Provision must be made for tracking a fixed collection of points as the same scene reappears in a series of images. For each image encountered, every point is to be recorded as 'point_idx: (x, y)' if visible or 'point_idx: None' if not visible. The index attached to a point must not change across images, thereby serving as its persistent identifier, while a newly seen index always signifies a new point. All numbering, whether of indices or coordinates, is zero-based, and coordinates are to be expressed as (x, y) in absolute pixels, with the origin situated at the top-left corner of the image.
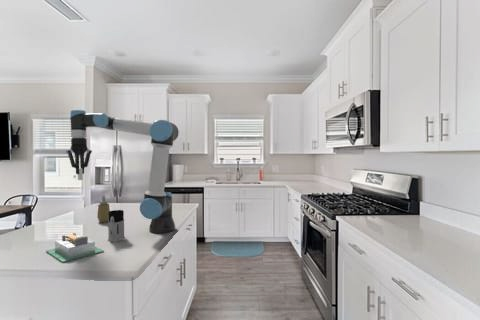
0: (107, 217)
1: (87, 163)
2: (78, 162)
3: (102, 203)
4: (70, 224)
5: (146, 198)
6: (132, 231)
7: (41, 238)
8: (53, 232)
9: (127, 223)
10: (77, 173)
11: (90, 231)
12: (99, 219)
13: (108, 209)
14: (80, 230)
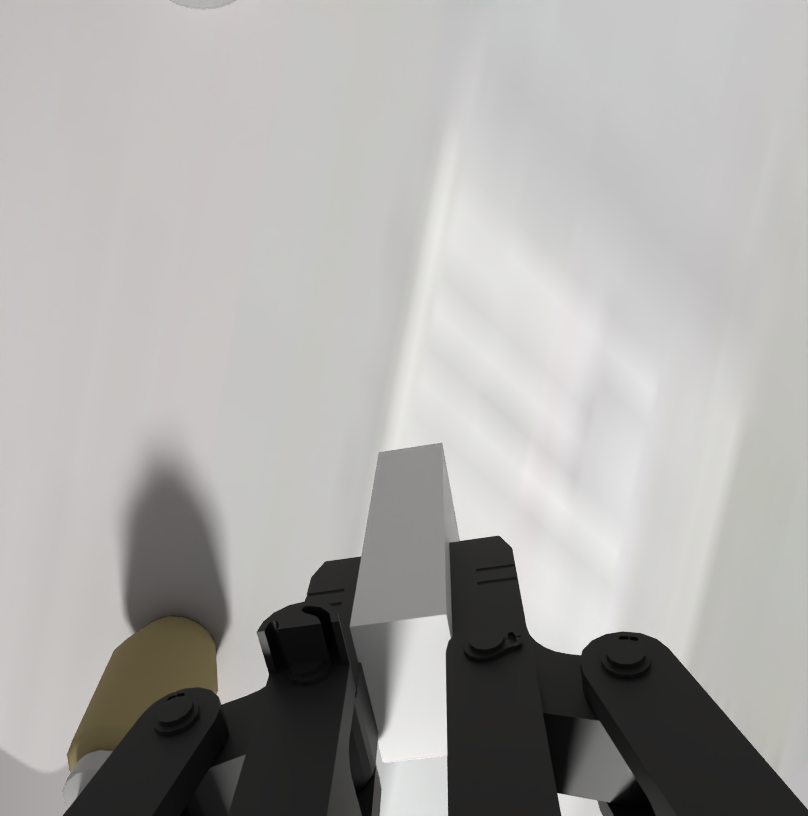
0: (140, 632)
1: (102, 801)
2: (483, 807)
3: None
4: None
5: None
6: (17, 105)
7: (696, 423)
8: (583, 554)
9: (10, 447)
10: (494, 547)
11: (338, 382)
12: (210, 649)
13: (98, 694)
14: None
